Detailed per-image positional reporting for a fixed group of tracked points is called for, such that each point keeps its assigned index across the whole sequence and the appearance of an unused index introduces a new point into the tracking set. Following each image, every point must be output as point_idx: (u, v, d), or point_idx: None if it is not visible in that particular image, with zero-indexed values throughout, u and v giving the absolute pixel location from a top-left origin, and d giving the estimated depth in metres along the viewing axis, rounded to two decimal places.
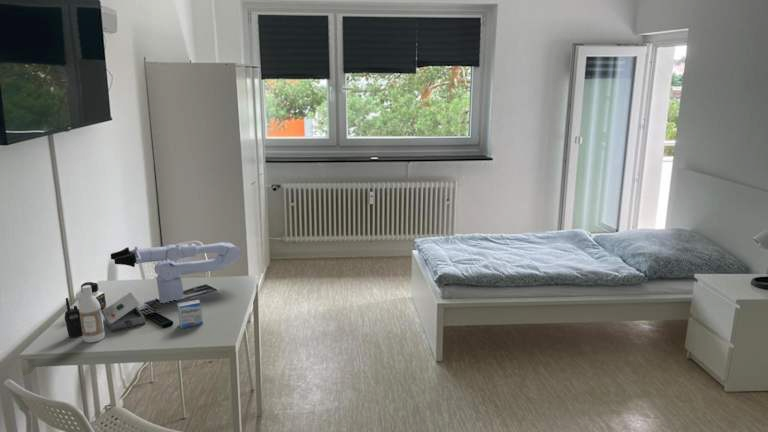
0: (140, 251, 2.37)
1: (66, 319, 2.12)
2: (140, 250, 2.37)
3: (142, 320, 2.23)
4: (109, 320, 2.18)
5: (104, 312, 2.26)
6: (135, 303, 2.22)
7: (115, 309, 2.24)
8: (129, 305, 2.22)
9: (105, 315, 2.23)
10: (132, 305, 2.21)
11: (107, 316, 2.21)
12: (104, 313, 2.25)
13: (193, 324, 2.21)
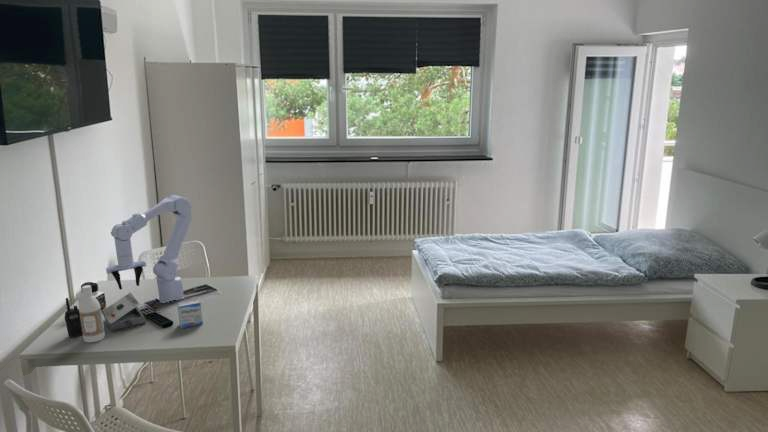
0: (131, 263, 2.32)
1: (66, 319, 2.12)
2: (130, 263, 2.32)
3: (142, 320, 2.23)
4: (109, 320, 2.18)
5: (104, 312, 2.26)
6: (135, 303, 2.22)
7: (115, 309, 2.24)
8: (129, 305, 2.22)
9: (105, 315, 2.23)
10: (132, 305, 2.21)
11: (107, 316, 2.21)
12: (104, 313, 2.25)
13: (193, 324, 2.21)
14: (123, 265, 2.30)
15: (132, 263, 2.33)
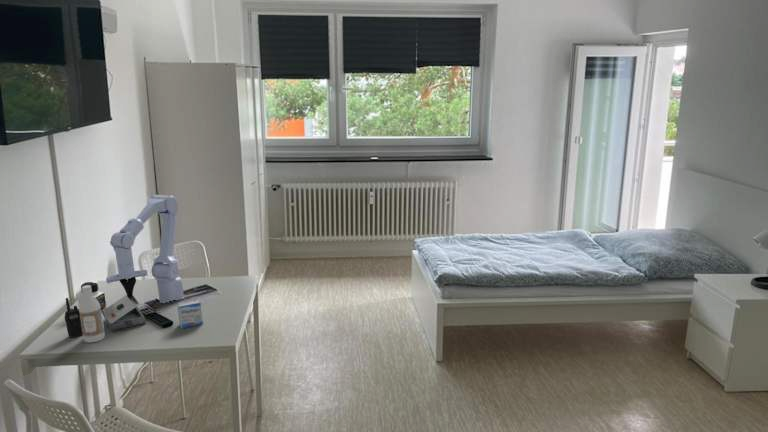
0: (132, 272, 2.25)
1: (66, 319, 2.12)
2: (130, 272, 2.25)
3: (142, 320, 2.23)
4: (109, 320, 2.18)
5: (104, 312, 2.26)
6: (135, 303, 2.22)
7: (115, 309, 2.24)
8: (129, 305, 2.22)
9: (105, 315, 2.23)
10: (132, 305, 2.21)
11: (107, 316, 2.21)
12: (104, 313, 2.25)
13: (193, 324, 2.21)
14: (124, 274, 2.23)
15: (133, 272, 2.26)
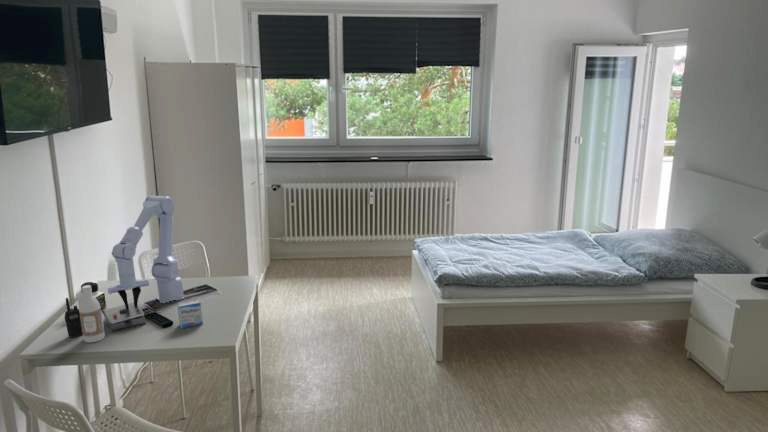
0: (133, 283, 2.26)
1: (66, 319, 2.12)
2: (132, 283, 2.26)
3: (142, 320, 2.23)
4: (110, 320, 2.18)
5: (105, 312, 2.26)
6: (140, 312, 2.23)
7: (117, 312, 2.25)
8: (134, 313, 2.23)
9: (106, 315, 2.23)
10: (137, 313, 2.23)
11: (108, 316, 2.22)
12: (105, 313, 2.25)
13: (193, 324, 2.21)
14: (125, 285, 2.24)
15: (134, 283, 2.27)
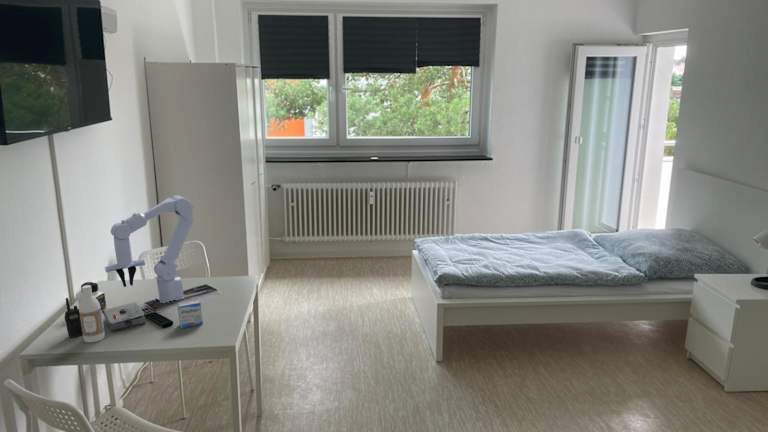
0: (130, 262, 2.34)
1: (66, 319, 2.12)
2: (129, 262, 2.33)
3: (142, 320, 2.23)
4: (110, 320, 2.18)
5: (105, 312, 2.26)
6: (140, 312, 2.23)
7: (117, 312, 2.25)
8: (134, 313, 2.23)
9: (106, 315, 2.23)
10: (137, 313, 2.23)
11: (108, 316, 2.22)
12: (105, 313, 2.25)
13: (193, 324, 2.21)
14: (122, 264, 2.32)
15: (131, 262, 2.34)
